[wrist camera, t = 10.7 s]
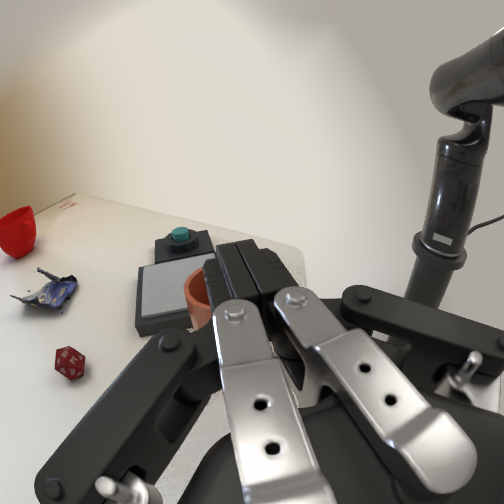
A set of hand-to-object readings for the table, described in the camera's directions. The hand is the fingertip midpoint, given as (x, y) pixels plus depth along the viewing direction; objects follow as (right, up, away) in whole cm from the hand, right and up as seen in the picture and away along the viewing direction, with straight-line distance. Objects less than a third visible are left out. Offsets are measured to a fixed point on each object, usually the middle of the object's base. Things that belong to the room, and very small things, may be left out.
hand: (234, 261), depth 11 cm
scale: (-9, -6, +26) cm, 28 cm away
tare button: (-11, +3, +35) cm, 37 cm away
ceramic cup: (-56, 0, +40) cm, 69 cm away
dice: (-20, -14, +14) cm, 28 cm away
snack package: (-33, -8, +25) cm, 42 cm away
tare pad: (-11, 0, +36) cm, 38 cm away
